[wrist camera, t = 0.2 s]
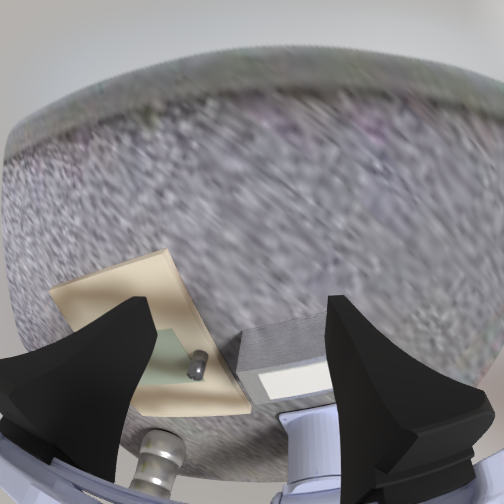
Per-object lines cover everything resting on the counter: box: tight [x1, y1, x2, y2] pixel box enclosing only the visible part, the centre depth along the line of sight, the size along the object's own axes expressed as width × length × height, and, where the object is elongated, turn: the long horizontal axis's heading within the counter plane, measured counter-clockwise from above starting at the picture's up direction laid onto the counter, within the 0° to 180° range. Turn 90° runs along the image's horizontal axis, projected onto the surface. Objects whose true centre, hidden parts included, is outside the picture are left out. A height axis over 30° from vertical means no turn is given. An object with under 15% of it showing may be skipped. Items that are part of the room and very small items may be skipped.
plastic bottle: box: [128, 430, 186, 500], centre depth 25 cm, size 6×7×20 cm
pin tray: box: [49, 248, 251, 417], centre depth 24 cm, size 20×15×4 cm
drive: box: [236, 311, 333, 405], centre depth 21 cm, size 4×9×5 cm, turn 109°
